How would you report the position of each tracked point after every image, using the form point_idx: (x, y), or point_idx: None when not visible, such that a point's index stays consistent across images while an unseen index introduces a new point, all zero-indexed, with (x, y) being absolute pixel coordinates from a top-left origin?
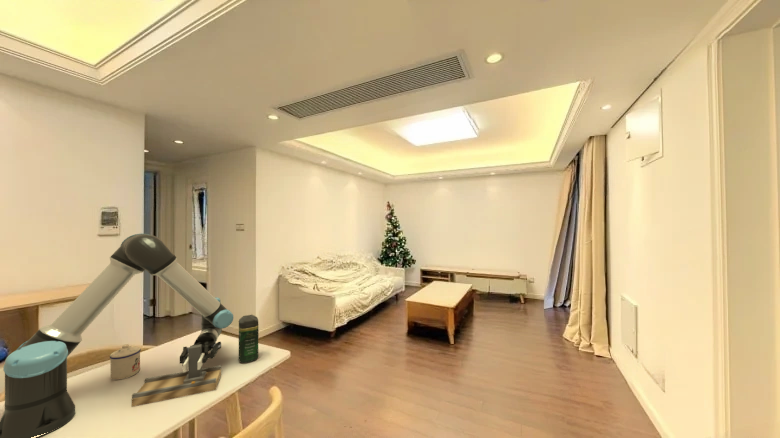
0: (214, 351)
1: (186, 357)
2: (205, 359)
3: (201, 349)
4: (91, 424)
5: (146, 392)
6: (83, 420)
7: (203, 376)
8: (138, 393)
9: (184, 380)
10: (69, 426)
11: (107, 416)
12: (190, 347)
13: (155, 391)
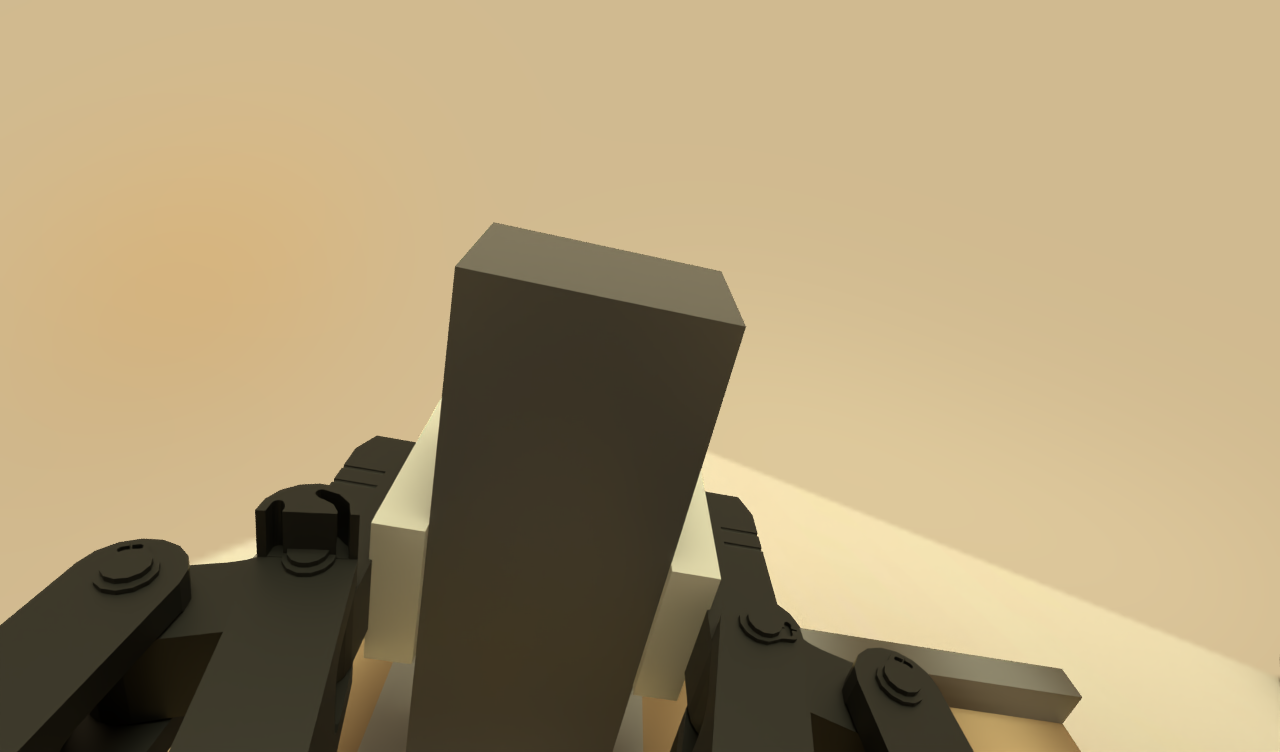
0: (12, 647)
1: (749, 606)
2: (370, 453)
3: (447, 390)
4: (1094, 640)
5: (947, 652)
6: (1224, 718)
7: (387, 681)
8: (1019, 669)
9: (635, 703)
10: (1237, 687)
11: (1079, 685)
12: (700, 279)
13: (869, 645)
